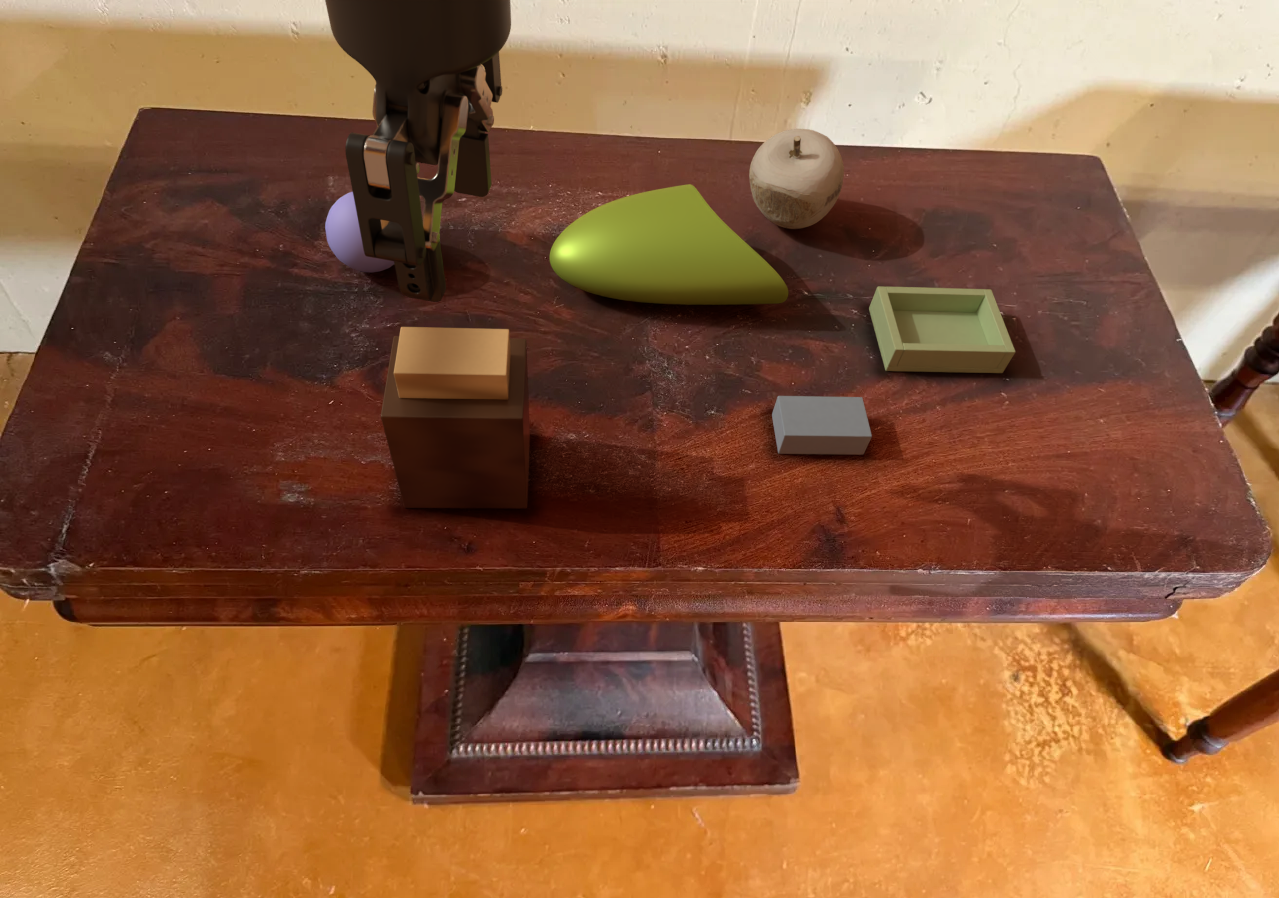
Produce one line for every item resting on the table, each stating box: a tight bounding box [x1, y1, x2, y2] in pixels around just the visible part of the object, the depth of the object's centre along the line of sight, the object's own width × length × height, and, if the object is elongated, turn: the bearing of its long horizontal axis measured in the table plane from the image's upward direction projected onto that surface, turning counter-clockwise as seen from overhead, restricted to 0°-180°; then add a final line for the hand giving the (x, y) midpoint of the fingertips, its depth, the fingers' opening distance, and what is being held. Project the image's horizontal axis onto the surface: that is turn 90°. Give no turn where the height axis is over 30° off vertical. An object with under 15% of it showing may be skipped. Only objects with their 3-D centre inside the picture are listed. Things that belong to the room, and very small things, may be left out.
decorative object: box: [748, 128, 845, 230], centre depth 84 cm, size 9×9×10 cm
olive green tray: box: [868, 285, 1016, 374], centre depth 78 cm, size 11×8×3 cm
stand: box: [380, 335, 531, 510], centre depth 63 cm, size 9×7×11 cm
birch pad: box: [394, 326, 511, 400], centre depth 58 cm, size 7×4×2 cm, turn 92°
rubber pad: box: [771, 395, 873, 456], centre depth 71 cm, size 7×4×2 cm, turn 92°
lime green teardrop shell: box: [549, 183, 789, 306], centre depth 78 cm, size 8×12×20 cm
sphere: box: [324, 191, 395, 273], centre depth 77 cm, size 7×7×7 cm
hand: (449, 240), depth 47 cm, fingers open, 8 cm apart
